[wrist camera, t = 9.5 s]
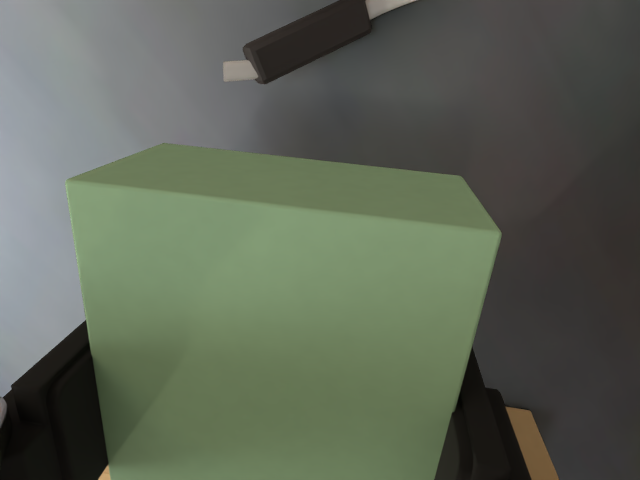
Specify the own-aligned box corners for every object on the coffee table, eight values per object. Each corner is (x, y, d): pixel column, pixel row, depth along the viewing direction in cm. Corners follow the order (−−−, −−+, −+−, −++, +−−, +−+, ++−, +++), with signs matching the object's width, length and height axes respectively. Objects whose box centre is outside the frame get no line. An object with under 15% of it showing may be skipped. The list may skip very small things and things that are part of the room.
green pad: (462, 175, 10) (504, 232, 6) (382, 547, 15) (382, 684, 11) (161, 141, 10) (62, 178, 7) (184, 511, 15) (132, 630, 12)
